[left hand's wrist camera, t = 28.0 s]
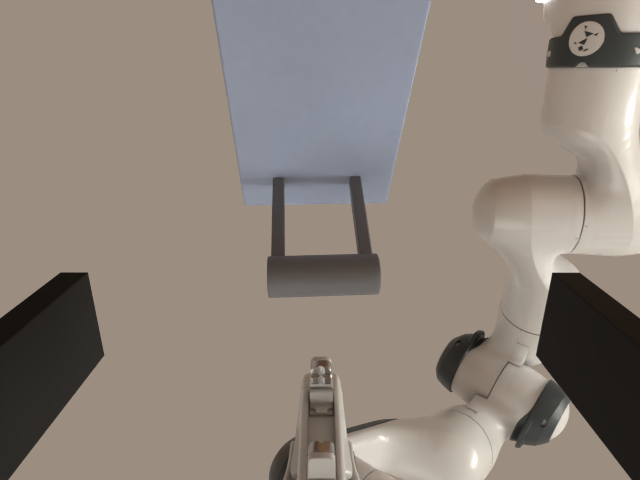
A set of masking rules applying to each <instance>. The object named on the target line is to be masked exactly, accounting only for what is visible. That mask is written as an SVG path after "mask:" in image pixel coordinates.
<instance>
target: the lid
mask: <svg viewBox="0 0 640 480" xmlns="http://www.w3.org/2000/svg"><path fill="white" fill-rule="evenodd" d="M430 2H431V0H212V6H213V12H214V19H215V25H216V31H217V37H218V43H219V50H220V56H221V62H222V68H223V74H224V81H225V87H226V93H227V99H228V105H229V112H230V118H231V124H232V130H233V136H234V143H235V149H236V155H237V161H238V167H239V174H240V180H241V186H242V192H243V199H244V204H245V205H272V248H271V256H269V257H268V260H267V287H268V296H269V298H276V297H309V296H340V295H374V294H379V292H380V286H381V269H380V261H379V257H378V255H377V254H372V248H371V241H370V234H369V228H368V221H367V214H366V208H365V203H386V202H387V197H388V193H389V188H390V184H391V179H392V175H393V170H394V166H395V161H396V156H397V152H398V147H399V143H400V138H401V134H402V129H403V125H404V120H405V116H406V111H407V107H408V102H409V97H410V93H411V88H412V84H413V79H414V75H415V70H416V66H417V61H418V57H419V52H420V48H421V43H422V38H423V34H424V29H425V25H426V20H427V16H428V11H429V7H430ZM347 203H351V204H352V212H353V220H354V228H355V236H356V244H357V252H358V254H342V255H304V256H285V205H297V204H347Z"/></svg>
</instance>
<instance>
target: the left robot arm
mask: <svg viewBox="0 0 640 480" xmlns="http://www.w3.org/2000/svg"><path fill="white" fill-rule="evenodd" d="M103 356H104V352H103V347H102V342H101V337H100V331H99V326H98V321H97V316H96V311H95V306H94V302H93V296H92V291H91V286H90V281H89V276H88V273H59V274H58V275H57V276H56V277H54V278H53V279H52V280H50V281H49V282H48V283H46V284H45V285H44V286H42V287H41V288H40V289H38V290H37V291H36V292H34V293H33V294H32V295H31V296H29V297H28V298H27V299H25V300H24V301H23V302H21V303H20V304H19V305H17V306H16V307H15V308H13V309H12V310H11V311H9V312H8V313H7V314H5V315H4V316H3V317H2V318H0V480H8V479H9V478H10V477H11V475H12V474H13V473H14V472H15V470H16V469H17V468H18V466H19V465H20V464H21V462H22V461H23V460H24V459H25V457H26V456H27V455H28V453H29V452H30V451H31V449H32V448H33V447H34V446H35V444H36V443H37V442H38V440H39V439H40V438H41V437H42V435H43V434H44V433H45V431H46V430H47V429H48V428H49V426H50V425H51V424H52V422H53V421H54V420H55V418H56V417H57V416H58V415H59V413H60V412H61V411H62V409H63V408H64V407H65V405H66V404H67V403H68V402H69V400H70V399H71V398H72V396H73V395H74V394H75V393H76V391H77V390H78V389H79V387H80V386H81V385H82V383H83V382H84V381H85V380H86V378H87V377H88V376H89V374H90V373H91V372H92V370H93V369H94V368H95V367H96V365H97V364H98V363H99V361H100V360H101V359H102V358H103ZM536 356H537V358H538V359H539V360H540V361H541V363H542V364H543V365H544V367H545V368H546V369H547V370H548V372H549V373H550V374H551V376H552V377H553V378H554V380H555V381H556V382H557V383H558V385H559V386H560V387H561V389H562V390H563V391H564V393H565V394H566V395H567V396H568V398H569V399H570V400H571V401H572V403H573V404H574V405H575V407H576V408H577V409H578V411H579V412H580V413H581V415H582V416H583V417H584V418H585V420H586V421H587V422H588V424H589V425H590V426H591V428H592V429H593V430H594V431H595V433H596V434H597V435H598V437H599V438H600V439H601V440H602V442H603V443H604V444H605V446H606V447H607V448H608V449H609V451H610V452H611V453H612V455H613V456H614V457H615V459H616V460H617V461H618V462H619V464H620V465H621V466H622V468H623V469H624V470H625V472H626V473H627V474H628V475H629V477H630V478H631V479H632V480H640V318H638V317H637V316H636V315H634V314H633V313H632V312H631V311H629V310H628V309H627V308H625V307H624V306H623V305H621V304H620V303H619V302H617V301H616V300H615V299H613V298H612V297H611V296H610V295H608V294H607V293H606V292H604V291H603V290H602V289H600V288H599V287H598V286H596V285H595V284H594V283H592V282H591V281H590V280H588V279H587V278H586V277H584V276H583V275H582V274H581V273H552V276H551V281H550V286H549V291H548V296H547V301H546V306H545V311H544V316H543V321H542V326H541V331H540V336H539V342H538V347H537V352H536Z"/></svg>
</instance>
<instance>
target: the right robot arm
mask: <svg viewBox="0 0 640 480" xmlns="http://www.w3.org/2000/svg"><path fill="white" fill-rule="evenodd" d="M536 2H541V3H544V7H543V21H544V22H545V23H546V24H547V25H548V26H549V27H550V29H551V31H552V34H553V38H551V39H550V40H549V46H548V51H547V53H546V57H547V60H546V67H547V68H551V69H549V70H548V76H547V83H546V89H545V95H544V101H543V107H542V113H541V119H540V122H541V127H542V130H543V132H544V134H545V135H546V137H547V138H548V139H549V140H551V141H552V142H554V143H555V144H557V145H558V146H560V147H562V148H564V149H565V150H567V151H569V152H571V153H573V154H575V155H576V158H577V171H576V174H575V175H571V176H569V175H538V174H520V175H513V176H506V177H500V178H495V179H490V180H489V181H488V182H486V183H485V184H484V185H483V186H482V188H481V189H480V190H479V192H478V193H477V195H476V197H475V199H474V202H473V206H472V220H473V224H474V227H475V230H476V232H477V233H478V235H479V236H480V238H481V239H482V240H483V241H484V242H485V243H486V244H488V245H490V246H491V247H492V248H494V249H495V250H496V251H497V252H498V253H499V254H500V255H501V257H502V258H503V260H504V262H505V265H506V280H505V286H504V290H503V294H502V298H501V302H500V306H499V311H498V318H497V323H496V326H495V329H494V331H493V333H492V335H491V336H490V337H489V338H484V336H485V333H484V331H481V330H478V331H477V332H475V333H474V334H464V335H461V336H459V337H456V338H454V339H453V340H452V341H451V342H450V343H449V344H448V345H447V346H446V347H445V348H444V349H443V350H442V352H441V354H440V356H439V359H438V364H437V367H436V374H437V379H438V380H439V381H440V382H441V384H442V385H443V386H444V387H445V388H446V389H447V390H449V391H450V392H454V393H455V394H456V395H457V396H459V397H460V398H461V399H462V400H464V401H465V402H466V403H467V404H468V405H456V406H452V407H449V408H446V409H444V410H442V411H440V412H438V413H436V414H434V415H431V416H426V417H420V418H408V419H383V420H377V421H373V422H369V423H365V424H362V425H358V426H354V427H351V428H347V429H346V424H345V415H344V406H343V398H342V390H341V384H340V379H339V377H338V375H337V374H334V373H332V372H331V359H330V358H329V357H314V358H312V360H311V373H308V374H306V375H305V376H304V377H303V380H302V386H301V393H300V402H299V411H298V421H297V429H296V436H295V437H294V438H293V439H291V440H289V441H288V442H287V443H286V444H285V445H284V446H283V447H282V448H281V449H280V450H279V452H278V453H277V455H276V456H275V458H274V460H273V462H272V465H271V468H270V473H269V480H395V479H394V478H392V477H391V476H389V475H387V474H386V473H388V474H391V475H394V476H396V477H399V478H401V479H403V480H484V479H485V477H486V476H487V475H488V473H489V472H490V471H491V469H492V467H493V465H494V463H495V461H496V459H497V456H498V453H499V451H500V448H501V446H502V444H503V443H504V441H505V440H507V439H510V440H513V441H517V442H516V445H515V447H517V448H520V447H521V446H522V445H523V444H525V445H533V446H536V445H541V444H545V443H548V442H549V441H550V440H551V439H553V438H554V437H556V436H557V435H558V434H560V433H561V431H562V430H563V429H564V427H565V426H566V424H567V421H568V418H569V403H570V399H569V398H568V396H567V395H566V394H565V393H564V391H563V390H562V389H561V387H560V386H559V385H558V384H556V383H555V382H554V381H552V380H547V379H546V378H545V377H543V376H542V375H540V374H539V373H538V372H536V371H535V370H533V369H532V368H530V367H528V366H527V365H537V364H541V361H540V360H539V359H538V358H537V356H536V352H537V347H538V342H539V336H540V331H541V326H542V321H543V316H544V311H545V306H546V301H547V296H548V291H549V286H550V281H551V276H552V273H580V272H579V271H578V270H577V268H576V267H575V266H573V265H572V264H571V263H570V262H569V261H568V260H566V259H565V258H563V257H562V256H560V254H567V253H572V254H590V255H607V256H623V255H632V254H640V142H639V125H640V68H627V67H640V0H536ZM384 472H385V473H384Z"/></svg>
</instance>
